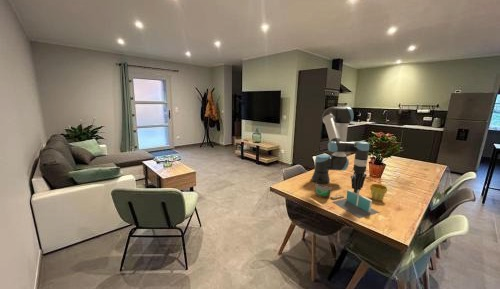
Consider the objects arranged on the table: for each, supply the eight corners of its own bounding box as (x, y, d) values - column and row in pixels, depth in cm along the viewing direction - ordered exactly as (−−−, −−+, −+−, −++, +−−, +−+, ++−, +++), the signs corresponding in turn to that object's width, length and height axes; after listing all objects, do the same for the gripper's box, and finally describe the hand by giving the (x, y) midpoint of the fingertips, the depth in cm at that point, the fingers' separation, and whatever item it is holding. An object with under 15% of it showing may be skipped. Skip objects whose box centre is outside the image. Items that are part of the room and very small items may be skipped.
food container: (311, 196, 153) (312, 183, 151) (315, 194, 157) (316, 181, 155) (327, 202, 145) (328, 189, 143) (331, 199, 149) (332, 186, 147)
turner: (334, 202, 145) (335, 199, 145) (328, 198, 151) (328, 195, 150) (353, 198, 152) (353, 195, 152) (346, 194, 158) (346, 191, 157)
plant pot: (370, 194, 159) (372, 182, 157) (386, 198, 153) (388, 186, 150) (367, 199, 151) (369, 186, 149) (384, 203, 145) (386, 190, 143)
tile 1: (346, 200, 145) (347, 190, 143) (348, 200, 146) (349, 189, 144) (355, 206, 138) (357, 195, 136) (358, 205, 139) (359, 194, 137)
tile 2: (357, 206, 137) (358, 195, 136) (359, 206, 138) (360, 195, 136) (368, 212, 130) (369, 200, 128) (370, 212, 131) (372, 200, 129)
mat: (331, 203, 143) (331, 201, 143) (350, 199, 150) (350, 197, 150) (359, 220, 124) (359, 218, 123) (379, 214, 131) (379, 212, 131)
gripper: (358, 167, 132) (353, 202, 137) (372, 165, 137) (367, 198, 142) (348, 164, 138) (344, 197, 143) (361, 162, 144) (357, 194, 149)
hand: (355, 197), depth 143 cm, fingers closed
